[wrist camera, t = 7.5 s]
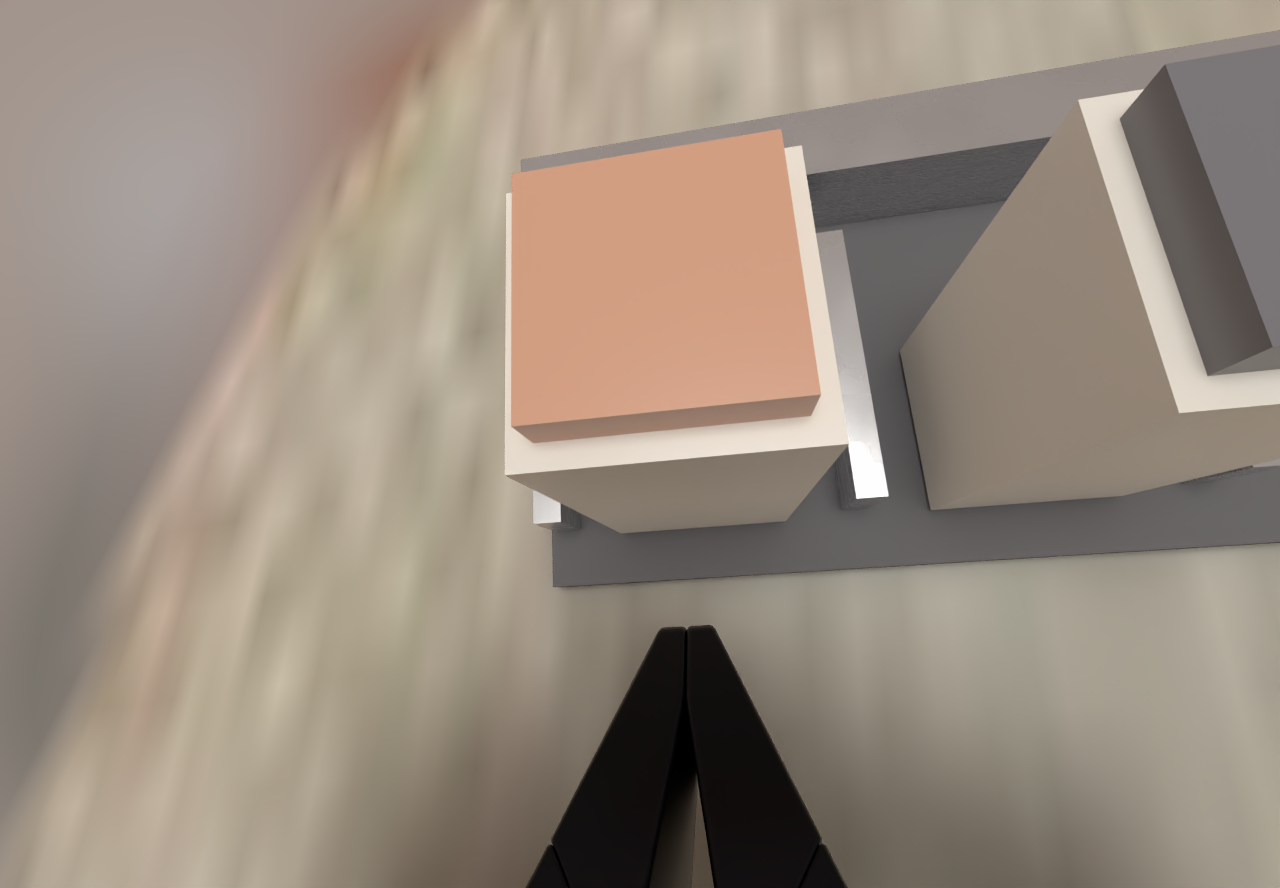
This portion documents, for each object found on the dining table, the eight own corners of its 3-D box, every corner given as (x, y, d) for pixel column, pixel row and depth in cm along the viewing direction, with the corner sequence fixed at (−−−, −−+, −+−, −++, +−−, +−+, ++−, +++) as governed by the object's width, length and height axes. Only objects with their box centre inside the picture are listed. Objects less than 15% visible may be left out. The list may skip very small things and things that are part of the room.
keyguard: (1608, 452, 12) (1806, 420, 10) (552, 532, 16) (522, 522, 13) (1412, 78, 15) (1534, -14, 13) (546, 212, 18) (520, 159, 16)
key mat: (1588, 523, 13) (1644, 519, 12) (561, 587, 16) (553, 586, 15) (1380, 102, 16) (1412, 78, 15) (554, 228, 19) (546, 212, 18)
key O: (785, 521, 15) (864, 425, 6) (620, 533, 15) (479, 462, 7) (766, 365, 16) (809, 98, 7) (613, 382, 16) (484, 154, 8)
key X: (1122, 495, 14) (1800, 335, 5) (930, 510, 14) (1240, 388, 6) (1075, 330, 15) (1562, -34, 6) (899, 350, 15) (1117, 44, 7)
